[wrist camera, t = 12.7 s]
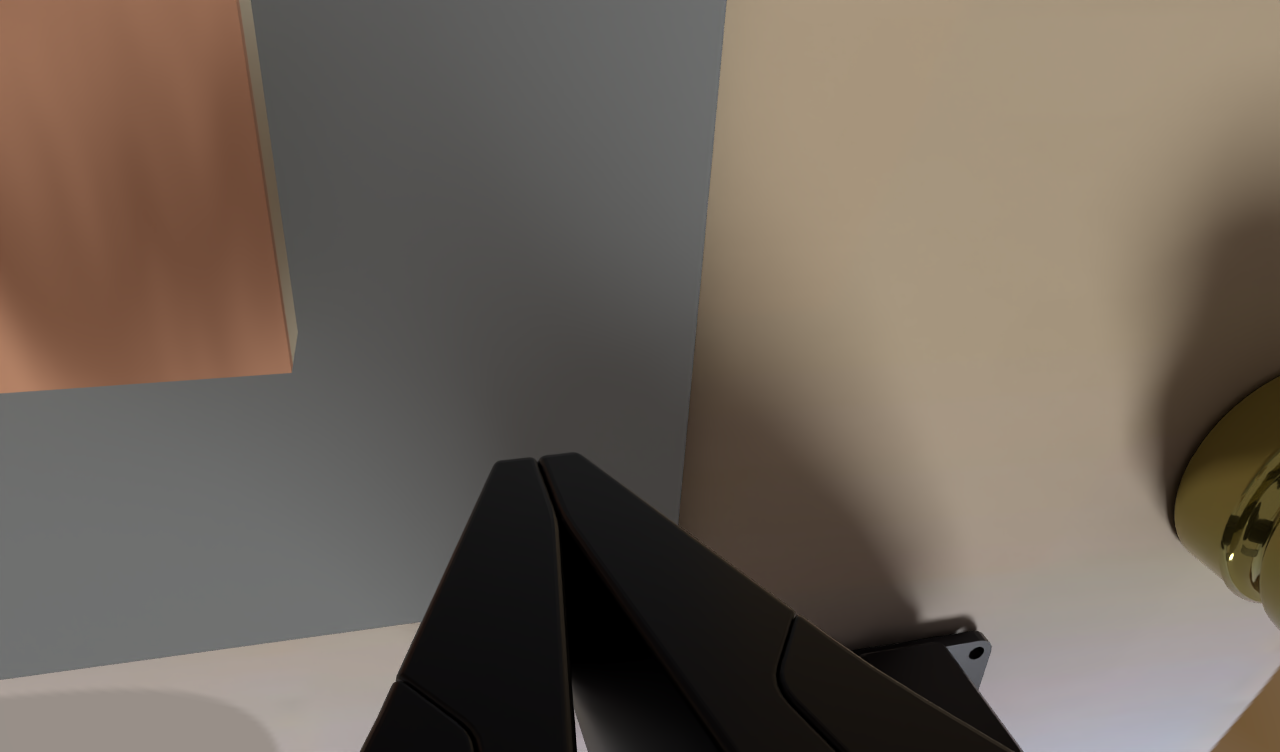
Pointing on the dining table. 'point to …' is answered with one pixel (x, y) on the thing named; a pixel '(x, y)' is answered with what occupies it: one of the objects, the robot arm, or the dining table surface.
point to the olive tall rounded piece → (1238, 500)
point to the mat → (391, 331)
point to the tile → (137, 197)
